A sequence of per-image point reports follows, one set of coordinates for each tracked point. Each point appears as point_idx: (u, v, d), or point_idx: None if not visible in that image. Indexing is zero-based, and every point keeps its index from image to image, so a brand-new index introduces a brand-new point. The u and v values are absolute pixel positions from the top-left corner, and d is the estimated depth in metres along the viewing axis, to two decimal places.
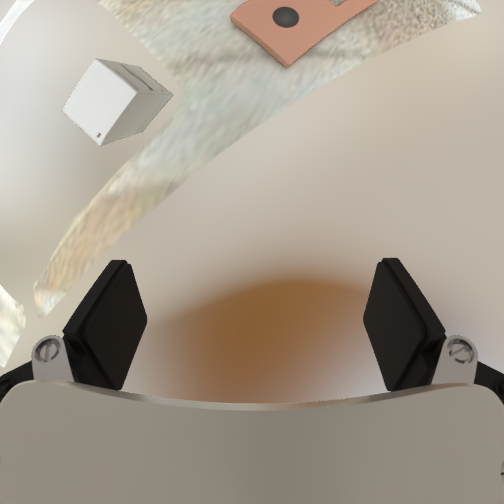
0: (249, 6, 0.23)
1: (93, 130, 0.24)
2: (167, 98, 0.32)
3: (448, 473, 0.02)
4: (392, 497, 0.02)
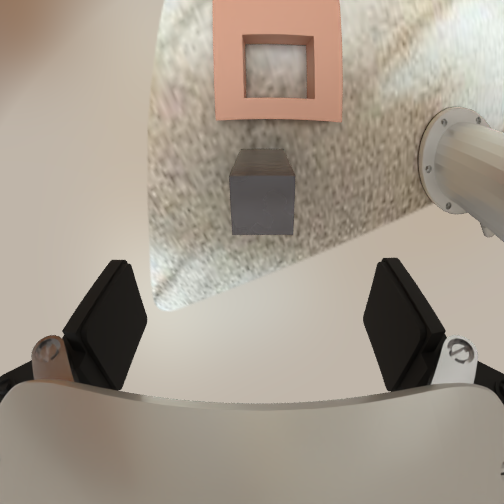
0: None
1: None
2: None
3: (448, 473, 0.02)
4: (392, 497, 0.02)
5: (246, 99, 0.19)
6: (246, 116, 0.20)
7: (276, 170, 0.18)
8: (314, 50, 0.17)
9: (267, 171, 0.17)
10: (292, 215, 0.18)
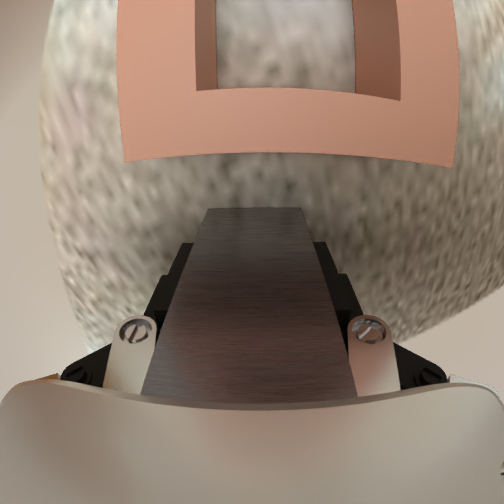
0: None
1: None
2: None
3: (448, 473, 0.02)
4: (392, 497, 0.02)
5: (204, 94, 0.06)
6: (204, 146, 0.07)
7: (299, 391, 0.05)
8: None
9: (266, 402, 0.04)
10: None
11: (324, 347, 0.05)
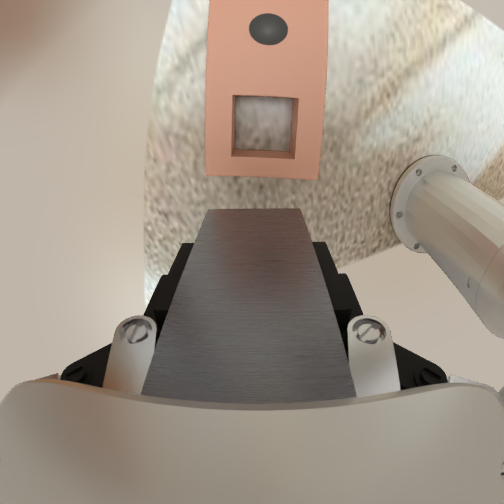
0: (318, 15, 0.16)
1: None
2: None
3: (448, 473, 0.02)
4: (392, 497, 0.02)
5: (233, 158, 0.23)
6: (232, 173, 0.24)
7: (299, 392, 0.05)
8: (298, 112, 0.21)
9: (265, 403, 0.04)
10: None
11: (323, 348, 0.05)
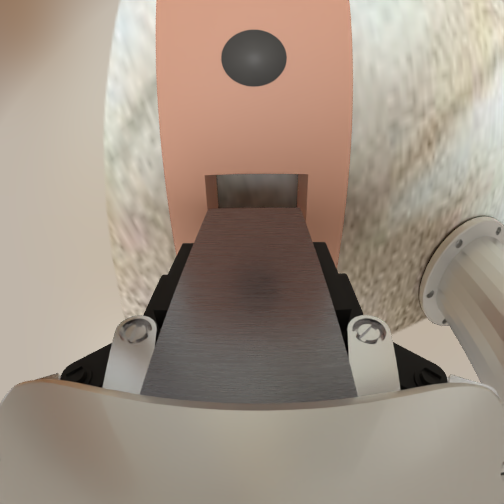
0: (335, 28, 0.10)
1: None
2: None
3: (448, 473, 0.02)
4: (392, 497, 0.02)
5: None
6: None
7: (299, 390, 0.05)
8: (307, 196, 0.15)
9: (266, 402, 0.04)
10: None
11: (324, 347, 0.05)
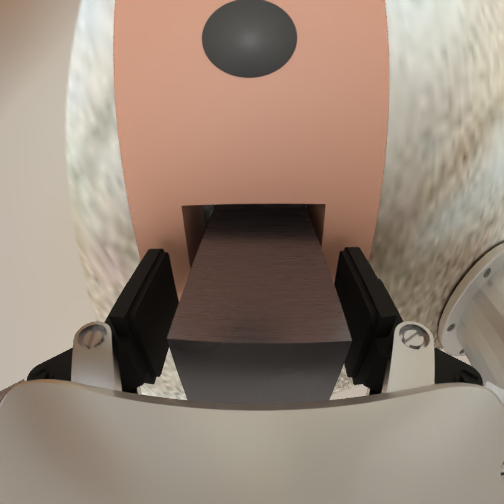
0: (364, 1, 0.06)
1: None
2: None
3: (448, 473, 0.02)
4: (392, 497, 0.02)
5: None
6: None
7: (298, 303, 0.07)
8: (323, 233, 0.11)
9: (274, 309, 0.07)
10: (325, 400, 0.07)
11: (316, 278, 0.08)
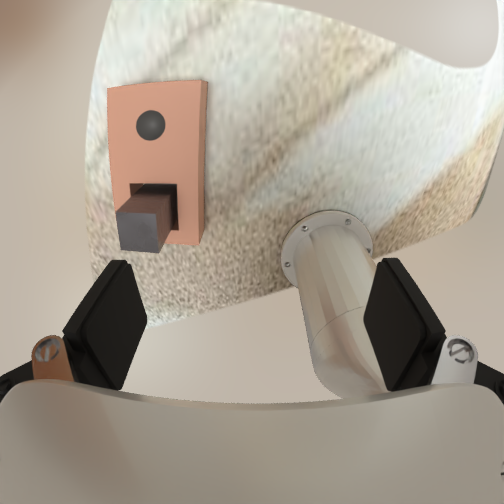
0: (190, 104, 0.24)
1: None
2: None
3: (448, 473, 0.02)
4: (392, 497, 0.02)
5: None
6: None
7: (149, 207, 0.24)
8: (177, 194, 0.29)
9: (142, 208, 0.24)
10: (156, 240, 0.25)
11: (158, 203, 0.25)
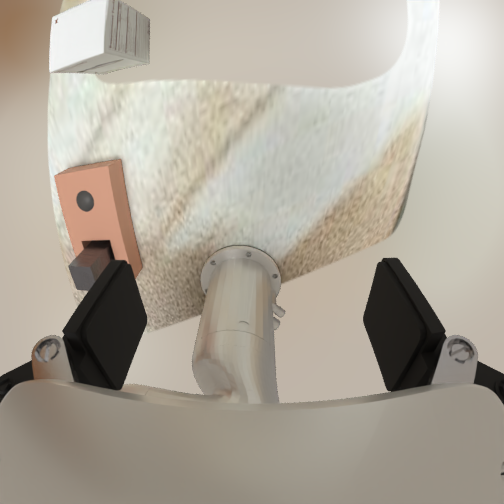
0: (105, 184, 0.33)
1: (63, 18, 0.15)
2: None
3: (448, 473, 0.02)
4: (392, 497, 0.02)
5: None
6: None
7: (88, 261, 0.33)
8: (112, 247, 0.38)
9: (84, 262, 0.33)
10: None
11: (95, 257, 0.34)
